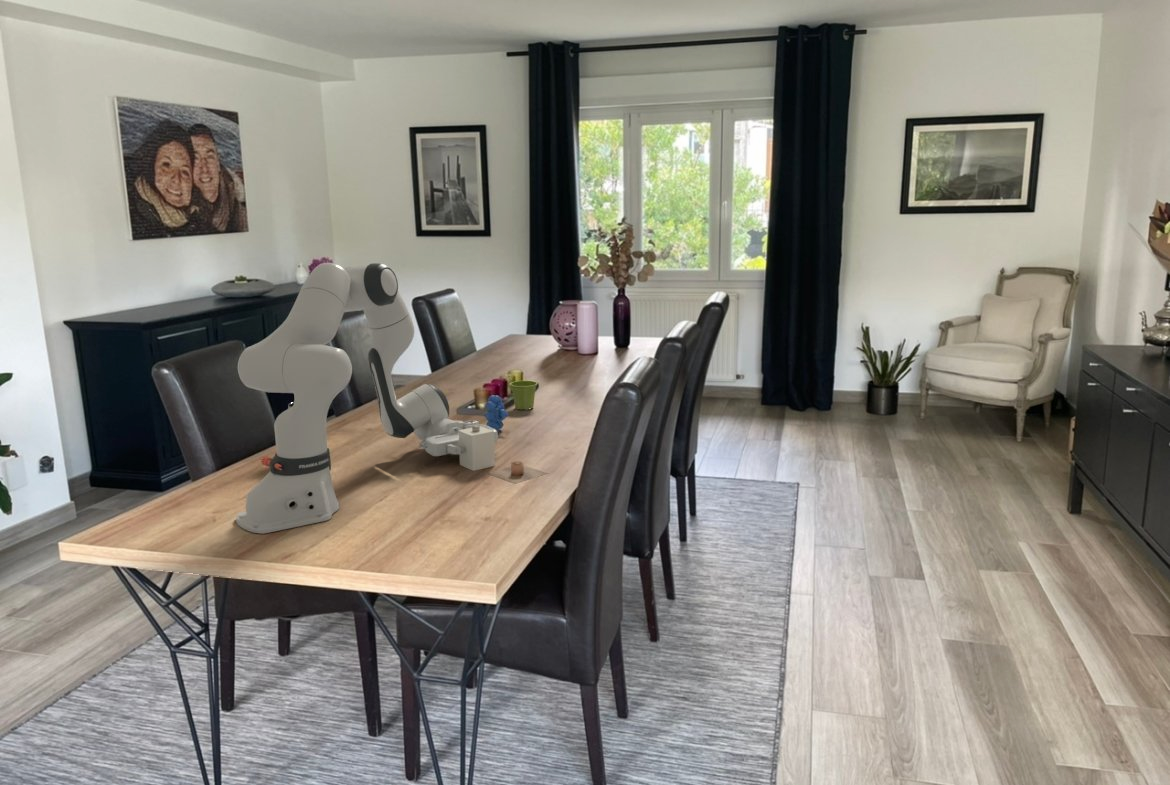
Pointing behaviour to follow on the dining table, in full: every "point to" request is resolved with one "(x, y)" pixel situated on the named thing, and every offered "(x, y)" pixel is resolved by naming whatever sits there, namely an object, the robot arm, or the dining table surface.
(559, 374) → the dining table surface
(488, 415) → the blue bumpy lump
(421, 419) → the robot arm
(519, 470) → the brown short cylinder
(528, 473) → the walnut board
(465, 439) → the cover
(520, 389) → the plant pot
